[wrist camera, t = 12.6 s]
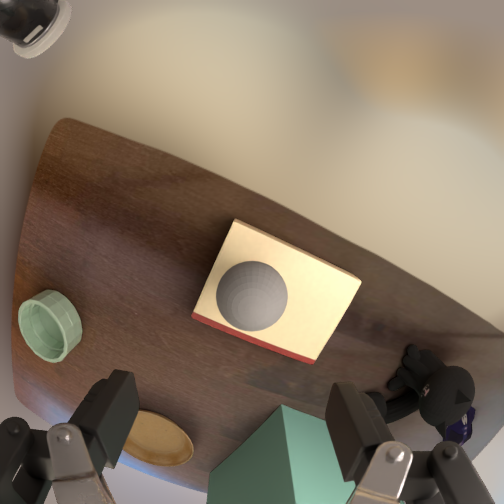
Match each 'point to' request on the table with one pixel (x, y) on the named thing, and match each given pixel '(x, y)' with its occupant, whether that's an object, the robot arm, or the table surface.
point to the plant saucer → (158, 440)
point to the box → (282, 465)
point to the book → (299, 293)
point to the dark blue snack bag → (461, 428)
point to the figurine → (428, 391)
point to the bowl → (50, 325)
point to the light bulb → (251, 296)
